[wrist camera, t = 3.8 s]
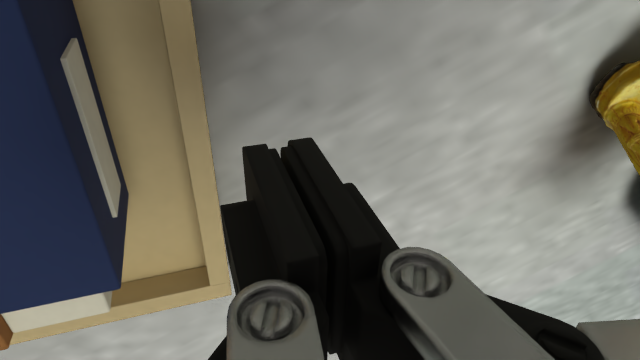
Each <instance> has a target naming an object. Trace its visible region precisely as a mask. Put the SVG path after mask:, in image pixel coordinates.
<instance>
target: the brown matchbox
mask: <svg viewBox="0 0 640 360" xmlns="http://www.w3.org/2000/svg"><path fill="white" fill-rule="evenodd" d="M128 198H129V193H128V190H127V186H126V183H125V179H124V176H123V173H122V169H121V166H120V162H119V159H118V155H117V152H116V148H115V145H114V142H113V138H112V135H111V131H110V128H109V124H108V121H107V117H106V114H105V111H104V107H103V104H102V100H101V97H100V93H99V90H98V87H97V83H96V80H95V76H94V73H93V69H92V66H91V62H90V59H89V56H88V52H87V49H86V45H85V42H84V38H83V35H82V31H81V28H80V25H79V21H78V18H77V14H76V11H75V7H74V4H73V1H72V0H0V350H5V349H7V348H9V345H10V342H11V339H12V336H13V333H17V332H21V331H26V330H30V329H35V328H39V327H44V326H48V325H53V324H57V323H62V322H66V321H71V320H76V319H80V318H85V317H89V316H94V315H98V314H103V313H107V312H109V311H110V308H111V298H112V291H114V290H118V289H120V288H121V281H122V269H123V257H124V245H125V234H126V222H127V210H128Z"/></svg>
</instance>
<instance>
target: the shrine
mask: <svg viewBox="0 0 640 360" xmlns="http://www.w3.org/2000/svg"><path fill="white" fill-rule="evenodd" d="M590 103H591V105H592V107H593V108H594V109H595V110H596V111H597V114H598V116H599V117H600V118H602V119H604V121H605V124H606V126H607V127H609V128H611V129H612V130H613V131H614V132H615V134H616V135H617V137H618V139H619V141H620V142H621V144H622V146H623V148H624V149H625V151H626V152H627V154H628V157H629V159H630V160H631V162H632V163H633V165H634V167H635V169H636V170H637V172H638V174H639V175H640V60H639V61H637V62H634V63H622V64H620V65H618V66H616V67H615V68H614V69H613V70H611V71H610V72H609V73H608V74H607V75H605V77H604V78H603V79H602V81H601V82H600V83H599V84H598V85H597V86H596V87H595V89H594V91H593V92H592V93H591V95H590Z"/></svg>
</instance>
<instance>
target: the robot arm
mask: <svg viewBox="0 0 640 360" xmlns="http://www.w3.org/2000/svg"><path fill="white" fill-rule="evenodd" d="M242 152H243V164H244V174H245V185H246V196H247V201H243V202H237V203H232V204H226V205H220V209H221V217H222V224H223V231H224V238H225V244H226V250H227V255H228V260H229V265H230V270H231V275H232V279H233V284H234V288H235V293H236V296H235V297H234V299H233V301H232V302H231V304H230V306H229V310H228V315H227V336H226V337H225V338H224V340H223V341H222V342H221V343H220V345H219V346H218V347H217V349H216V350H215V351H214V352H213V354H212V355H211V356H210V357H209V359H208V360H327V352H329V354H334V353H337V355H338V357H339V360H640V319H633V320H616V321H599V322H582V323H578V325H577V326H576V328H575V327H574V326H572V325H569V324H567V323H565V322H563V321H561V320H558V319H555V318H552V317H549V316H546V315H544V314H541V313H538V312H535V311H532V310H529V309H526V308H523V307H521V306H518V305H515V304H512V303H509V302H506V301H503V300H500V299H497V298H495V297H492V296H489V295H486V294H484V293H483V292H482V291H481V290H480V289H479V288H478V287H477V286H476V285H475V284H474V283H473V282H472V281H471V280H470V279H468V278H467V277H466V276H465V275H464V274H463V273H462V272H461V271H460V270H459V269H458V268H457V267H456V266H455V265H454V264H453V263H451V262H450V261H449V260H448V259H446V258H445V257H444V256H442V255H441V254H439V253H436V252H434V251H432V250H429V249H424V248H420V247H406V248H402V249H400V248H399V247H398V245H397V244H396V243H395V241H394V240H393V238H392V237H391V236H390V234H389V233H388V231H387V230H386V229H385V227H384V226H383V224H382V223H381V222H380V220H379V219H378V217H377V216H376V215H375V213H374V212H373V210H372V209H371V207H370V206H369V205H368V203H367V202H366V200H365V199H364V198H363V196H362V195H361V193H360V192H359V191H358V189H357V188H356V187H355V185H354V184H352V183H346V184H343V183H342V182H341V180H340V179H339V177H338V176H337V174H336V173H335V171H334V170H333V168H332V167H331V165H330V164H329V162H328V161H327V159H326V158H325V156H324V155H323V153H322V152H321V150H320V149H319V148H318V146H317V145H316V143H315V142H314V140H313V139H312V138H303V139H296V140H289V141H288V147H282V148H281V158H280V156H279V154H278V152H277V150H276V149H275V148H274V149H268V147H267V145H266V144H260V145H253V146H246V147H243V148H242Z"/></svg>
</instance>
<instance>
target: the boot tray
mask: <svg viewBox="0 0 640 360" xmlns="http://www.w3.org/2000/svg"><path fill="white" fill-rule="evenodd" d="M72 1H73V4H74V7H75V11H76V14H77V18H78V21H79V25H80V28H81V31H82V35H83V38H84V42H85V45H86V49H87V52H88V56H89V59H90V62H91V66H92V69H93V73H94V76H95V80H96V83H97V87H98V90H99V93H100V97H101V100H102V104H103V107H104V111H105V114H106V117H107V121H108V124H109V128H110V131H111V135H112V138H113V142H114V145H115V148H116V152H117V155H118V159H119V162H120V166H121V169H122V173H123V176H124V179H125V183H126V186H127V190H128V193H129V198H128V210H127V222H126V234H125V245H124V257H123V269H122V281H121V288H120V289H118V290H114V291H112V298H111V308H110V311H109V312H107V313H103V314H98V315H94V316H89V317H85V318H80V319H76V320H71V321H66V322H62V323H57V324H53V325H48V326H44V327H39V328H35V329H30V330H26V331H21V332H17V333H13V336H12V339H11V342H10V345H12V344H17V343H21V342H25V341H30V340H34V339H39V338H43V337H47V336H52V335H56V334H61V333H65V332H69V331H74V330H78V329H83V328H87V327H91V326H96V325H100V324H105V323H109V322H114V321H118V320H122V319H127V318H131V317H136V316H140V315H144V314H149V313H153V312H158V311H162V310H166V309H171V308H175V307H180V306H184V305H188V304H193V303H197V302H202V301H206V300H211V299H215V298H219V297H224V296H228V295H231V294H232V292H231V285H230V278H229V271H228V264H227V257H226V250H225V243H224V236H223V228H222V221H221V214H220V207H219V200H218V193H217V186H216V179H215V172H214V165H213V157H212V150H211V143H210V136H209V129H208V122H207V115H206V108H205V101H204V94H203V86H202V79H201V72H200V65H199V58H198V51H197V44H196V37H195V30H194V23H193V15H192V8H191V1H190V0H72Z"/></svg>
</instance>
